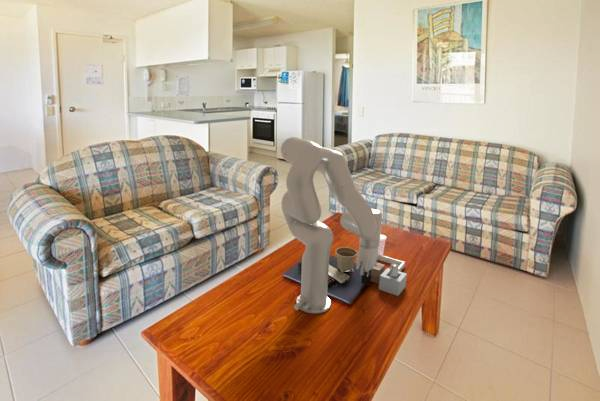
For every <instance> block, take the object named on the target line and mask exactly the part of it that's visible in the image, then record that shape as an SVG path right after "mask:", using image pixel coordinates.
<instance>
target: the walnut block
mask: <svg viewBox="0 0 600 401" xmlns="http://www.w3.org/2000/svg"><path fill="white" fill-rule="evenodd" d="M385 266H386V264H383V263H380V262H377V263H376V265H375V266H374V267H373V268H372V274H371V282H373V283H375V284H379V280H380V275H381V274H382V273H383V272H384V271H385V270H386V268H385Z"/></svg>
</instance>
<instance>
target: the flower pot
mask: <svg viewBox="0 0 600 401" xmlns="http://www.w3.org/2000/svg"><path fill="white" fill-rule="evenodd" d="M335 255H336V260H337V269H338V268H339V269H340V270H343V271H344V270H345V271H346V270H351V269H352V270H354V268H353V267H354V264H355V260H356V259H357V256H358V251H357V250H356V249H354V248H352V247H348V246H341V247H338V248H336V249H335Z"/></svg>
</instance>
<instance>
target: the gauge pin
mask: <svg viewBox="0 0 600 401" xmlns="http://www.w3.org/2000/svg"><path fill="white" fill-rule="evenodd" d="M398 268H399V266H398V265H397V264H390V277H393V278H396V279H397V276H398Z"/></svg>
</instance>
